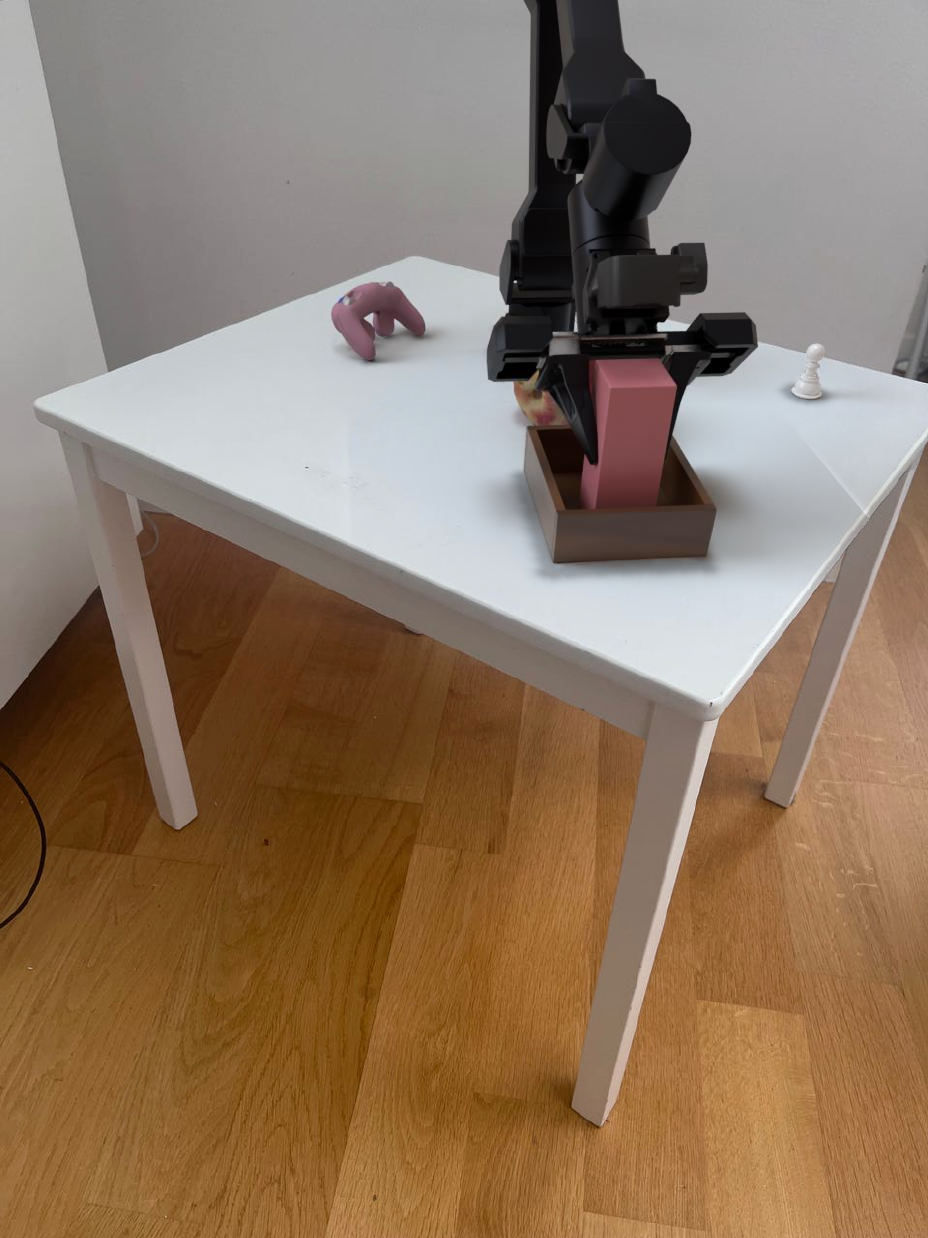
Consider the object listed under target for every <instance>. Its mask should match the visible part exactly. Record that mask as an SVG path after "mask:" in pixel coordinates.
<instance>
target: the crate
mask: <svg viewBox="0 0 928 1238" xmlns="http://www.w3.org/2000/svg"><path fill="white" fill-rule="evenodd" d="M525 427H526V429H525V442H524V455H523V456H524V457H523V468H522V469H523V474H524V476H525V480H526V484H527V486H528V487H527V488H528V490H529V493H530V495H531V499H532V502H533V505H534V508H535V512H536V516H537V518H538V521H539V524H540V527H541V530H542V533H543V536H544V540H545V543H546V546H547V549H548V553H549V555H550V558H551V562H552V564H569V563H570V564H572V563H574V564H575V563H592V562H593V563H594V562H615V561H636V560H659V559H661V560H662V559H679V558H680V559H683V558H701V557H702V558H703V557H707V556H708V553H709V547H710V544H711V540H712V539H711V538H712V534H713V530H714V525H715V520H716V516H717V511H718V508H717V506H716V505H715V503H714V501H713V499H712V498H711V496H710V494H709V493H708V491H707V489H706V488H705V486H704V484H703V483H702V481H701V479H700V478H699V476H698V474H697V473H696V471H695V470H694V468H693V466H692V465H691V463H690V461H689V459H688V458H687V456H686V454H685V453H684V452H683V450H682V448H681V446H680V445H679V443H678V441H677V440H676V438H675V436H674V435H672V439H671V443H670V447H669V451H668V455H667V458H666V460H665V461H664V463H663V469H662V475H661V480H660V486H659V492H658V497H657V503H656V507H631V508H606V509H580V507H579V499H580V490H581V481H582V473H583V464H584V456H585V453H584V452H583V450H582V448H581V446H580V444H579V442H578V440H577V438H576V436H575V434H574V432H573V430H572V428H571V427H570V425H541V426H535V425H526V426H525Z"/></svg>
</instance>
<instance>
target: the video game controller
mask: <svg viewBox="0 0 928 1238" xmlns="http://www.w3.org/2000/svg"><path fill="white" fill-rule="evenodd" d="M371 314H372V315H373V316H372V324H371V322H370V321H368V320H367V319H365V318H366V317H368V316H370V315H371ZM330 317H331V321H332V324H333V326H334V328H335V330H336V331H338V333H340V334H341V336H342V337H343V339H344V340H345V341H346V343H347V344H348V345H349V347H350V348H351V349H352V350H353V352H355V353H356V354H357V355H358V356H360V357H361V358H363V359H364V360H366V361H372V360H374V359H375V357H376V355H377V354H376V350H377V349H376V346H375V343H374V342H375V340H376V336H378V337H380V338H386V337H388V336H391V335H392V334H393V333H394V332H395V320H396V321H397V322H398V323H399V324H401V325H402V326H403V327H404V328H405V329H406V330H407V331H409V332H410V333H412V334H414V335H417V336H423V335H424V334H425V333H426V329H427V328H426V322H425V319H424V317H423V315H422V314H421V312H420V311H419V310H418V309H417V308H416V306H415V305H414V304H413V303H412V302H411V301H410V300H409V298H408V297H407V296H406V294H405V293H404V292H403V290H402V289H401V288H400V287H398V286H396V285H395V284H394V282H393V281H387V282H386V281H379V282H377V281H376V282H375V281H371V282H368V283H362V284H360V285H358V286H356V287H353V288H352V289H350V290H349V291H347V292H346V293H344V295H343V296H342V297H340V298H339V299H338V301H337V302H335V303H334V305H333V306H332V307H331V311H330Z"/></svg>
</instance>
